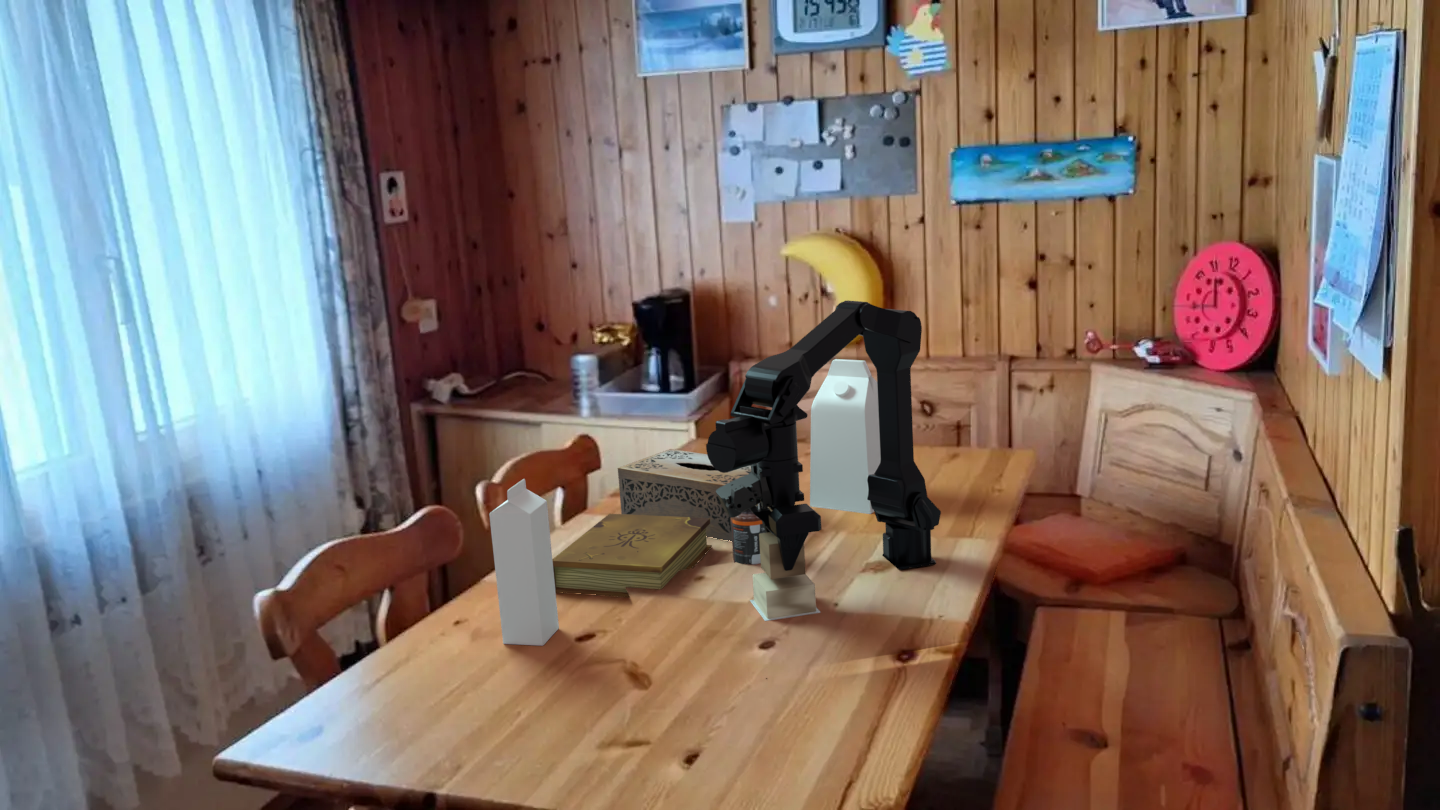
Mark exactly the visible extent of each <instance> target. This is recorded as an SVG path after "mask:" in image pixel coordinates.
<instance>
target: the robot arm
mask: <svg viewBox="0 0 1440 810" xmlns="http://www.w3.org/2000/svg"><path fill="white" fill-rule="evenodd" d="M922 328H923V327H922V321H921V319H920V317H918V316H917V314H916V313H915V312H914V311H912V310H904V309H903V310H902V309H894V308H893V309H891V308H883V307H880V306H877V305H874V304H872V303H870V302H867V301H858V300H844V301H841V302H839V303H838V305H836V307H835V310H834V311H832V312H831V313H830V314H829V315H828V316H826V317H825V318H824V319H823V320H822V321H821V322H820V323H819V324H817V325H816V326H815V327H813V329H811V330H810V331H809V332H808V333H807V334H806V335H804V336H803V337H802V338H801V339H800V340H798V341H797V342H796V343H795V344H794V345H793V346H792V347H790V348H788V349H787V350H785V351H784V352H780V353H777V354H773V355H770V356H768V357H766V358H764V359H762V360H761V361H759V362H757V363H755V364H754V365H752V366H751V367H749V369H748V370H747V372H746V374H745V376H744V377H745V379H744V382H743V384H742V387H741V388H740V391H739V392H738V395H737V397H736V400H735V402H734V405H733V407H732V409H731V412H730V417H731V418H729V419H718V420H716V421H715V430H714V431H712V432H711V433H710V434H709V436H708V438H707V439H708V440H707V443H706V444H705V445H706V446H705V450H706V454H707V455H708V458H709V460H710V462H711V464H712V465H713V467H714V468H715V469H716V470H718V471H720V472H722V473H727V472H730V471H733V470H737V469H740V468H743V467H746V466H749V465H751V473H750V474H748V475H745V476H742V477H740V478H738V479H736V480H734V481H732V482H730V483H728V484H726V485H724V486H722V487H720V488H718V489H717V490H716V493H717V496H718V498H719V500H720V502H721V504H722V507H723V509H724V511H725V512H726V513H727V514H728V515H729V517H731V518H733V517H737V516H739V515H741V513H742V512H744V511H746V510H748V509H750V510H751V511H752V513H753V514H754V515H756V516H757V517H758V518H759V519H761V520H762V523H763V526H764V529H765V532H766V533H768V532H771V533H772V534H773V535H775V536H776V537H777V540H778V545H779V549H780V554H781V559H782V563H783V567H784V570H785V571H789V570H792V569H793V567H794V565H795V562H796V560H797V558H798V555H799V553H800V551H801V548H802V546H803V544H804V545H805V541H807V538H808V536H809V534H810V533H814V532H815V533H816V532H820V531H821V530H822V516H821V515H820V514H819V513H818V512H817V511H816V510H815V509H813V508H812V507H811V506H810V504H808V503H801V504H800V503H799V504H796V503H797V502H803V501H805V493H804V492H803V491H801V490H800V473H803V471H804V468H803V464H802V463H801V462H800V461H799V453H798V451H799V450H798V449H799V447H798V432H797V431H798V430H797V429H798V428H797V421H801V420H804V419H807V418H808V416H809V415H808V413H807V412H806V411H804V410H803V409H801V407H799V405H798V404H799V403H800V402H801V401H802V399H803V398H804V397H805V396H806V394H807V393H808V392H809V391H810V388H811V386H812V385H811V384H812V379H813V377H814V376H815V375H816V374H817V372H819V371H820V370H821V369H822V368H823V367H824V366H825V365H827V364H828V363H829V362H830V361H831V360H832V359H833V358H834V357H836V356H837V355H838V354H840V353H841V352H842V350H843V349H845V348H846V347H847V346H848V345H849V344H850V343H852V341H854V340H855V339H856V338H857V337H858V336H862V337H863V343H864V349H865V353H866V354H867V356H868V358H869V360H870V361H871V363H872V364H873V366H874V367H875V369H876V381H877V388H878V412H879V435H880V458H881V460H880V464H879V466H878V468H877V469H876V471H875V473H874V474H871V475H869V476H868V479H867V482H868V489H869V491H868V498H867V500H870V503H871V507H872V509H874V512H873V513H874V515H875V518H876V521H877V522H878V523H883V524H884V523H885V532H883V533H882V551H883V552H882V557H884V559H886V560H887V561H888V562H889V563H890V564H891V565H893V567H895V568H896V569H897V570H899V571H900V570H907V569H914V568H920V567H927V566H934V565H936V563H937V562H936V561H937V560H936V559H934V558H933V557H932V535H931V534H932V530H935V527H936V526H939V524H940V519H941V515H942V511H941V510H940V508H939V507H937V505H935V503H933V501H932V500H931V499H930V498H929V497H928V492H927V486H926V479H925V477H924V476H923V474H922V472H921V470H920V469H919V466H917V464H916V462H915V458H914V457H915V455H914V432H913V431H914V428H913V404H912V403H913V402H912V379H911V378H912V375H911V374H912V373H911V368H912V366H913V364H914V362H915V360H916V358H918V357H917V356H918V355H919V353H920V352H921V345H922V344H921V343H922V332H923V331H922V330H923V329H922ZM753 405H754V406H753ZM755 405H756V406H759V407H756V406H755ZM762 407H766V408H762ZM767 408H771V409H767Z"/></svg>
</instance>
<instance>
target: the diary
mask: <svg viewBox="0 0 1440 810" xmlns="http://www.w3.org/2000/svg"><path fill="white" fill-rule="evenodd" d="M709 524H710V518H696V517H674V516H651V515H629V514H621V513H608V514H607V515H606V516H604V517H603V518H602V519H601V520H599V521H598V522H597V523H595V524H594V525H593V526H592V527H591V528H590V529H588V530H587V531H586V532H585V533H583V534H582V535H581V536H579V537H578V538H577V539H576V540H575V541H573V542H572V543H571V544H570V545H568V546H567V547H566V548H565V549H564V550H562V551H561V552H560V553H558V554H557V555H556V556H555V557H552V560H553V571H554V581H555V592H563V593H562V594H567V593H581V594H580V595H583V594H596V595H595V596H598V595H605V596H604V597H614V596H615V597H617V596H618V597H619V598H631V597H630V594H629V592H628V590H627V588H636V589H650V590H662V589H663V588H664V587H665V586H666V585H667V584H668V583H669V582H670V581H671V580H672V579H673V578H674V577H675V576H676V575H677V573H679V571H685V570H692V569H694V567H695V566H696V565H697V564H698V563H699V562H700V561H701V560H702V559H703V558H704V557H705V555H706V554H707V553H708V552H709V551H710V550H711V549H712V548H711V547H713V546H712V544H708V541H707V539H708V538H707V537H706V527H707V526H708V525H709ZM710 548H711V549H710ZM709 549H710V550H709ZM708 550H709V551H708ZM707 551H708V552H707ZM706 552H707V553H706ZM705 553H706V554H705ZM703 556H704V557H703ZM702 557H703V558H702ZM701 558H702V559H701ZM700 559H701V560H700ZM699 560H700V561H699ZM698 561H699V562H698ZM697 562H698V563H697ZM615 597H614V598H615ZM618 597H617V598H618Z"/></svg>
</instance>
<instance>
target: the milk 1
mask: <svg viewBox="0 0 1440 810" xmlns="http://www.w3.org/2000/svg"><path fill="white" fill-rule="evenodd" d="M506 498H507V500H505V501H504V502H503V503H501V504H499V506H497V507H496V508H494V509H493V510H492V511H490V512H489V514H488V515H489V525H490V533H491V543H492V551H493V561H494V569H495V571H494V572H495V579H496V588H497V589H496V591H497V600H498V608H499V617H500V626H501V636H502V644H504V645H520V646H521V645H522V646H524V645H525V646H544V645H545V644H546V643H547V642H548V641H549V639H551V638H552V636H554V634H555V633H556V632H557V631H558V630H559V629H560V626H559V625H560V624H559V613H558V605H557V604H558V603H557V593H556V592H555V581H554V571H553V560H552V559H553V552H552V541H551V531H550V520H549V519H550V518H549V511H548V510H549V509H548V501H547V500H546V499H544V498H543V497H541V496H539V495H538V494H537V493H534V492H533V491H531V490H529V489H527V484H526V479H525V478H523V479H521V480H520V481H518V482H517V483H516V484H514V485H513V486H511V487H510V488H509V489H507V491H506Z"/></svg>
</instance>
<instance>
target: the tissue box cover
mask: <svg viewBox="0 0 1440 810" xmlns="http://www.w3.org/2000/svg"><path fill="white" fill-rule="evenodd" d="M750 473H751V465H749V466H746V467H743V468H740V469H737V470H733V471H730V472H727V473H722V472H720V471H718V470H716V469H715V468H714V467H713V465H712V464H711V462H710V460H709V458H708V455H707V453H701V452H694V451H688V450H687V451H686V450H682V449H681V450H680V449H673V448H669V449H666V450H663V451H660V452H658V453H655V454H652V455H649V456H647V457H645V458H642V459H639V460H635V461H634V462H630V463H628V464H626V465H623V466H620V467H617V475H618V487H619V488H618V489H619V490H618V491H619V500H620V512H621V513H620V514H629V515H651V516H674V517H696V518H710V524H709V525H708V526H707V527H706V536H707V537H706V538H708V537H713V538H717V539H716V540H718V539H723V540H728V541H729V540H730V541H732V528H731V517H729V515H728V514H727V513H726V512H725V511H724V509H723V507H722V504H721V502H720V500H719V498H718V496H717V493H716V490H717V489H718V488H720V487H722V486H724V485H726V484H728V483H730V482H732V481H734V480H736V479H738V478H740V477H742V476H745V475H748V474H750ZM713 538H712V539H713ZM723 540H722V541H723ZM728 541H727V542H728Z"/></svg>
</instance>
